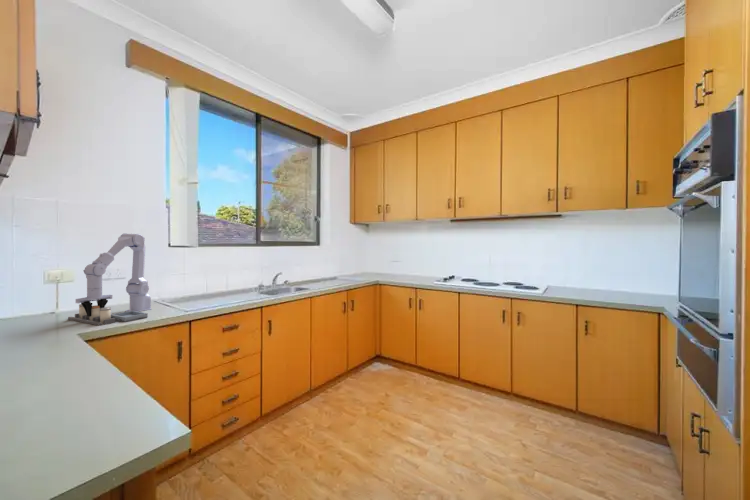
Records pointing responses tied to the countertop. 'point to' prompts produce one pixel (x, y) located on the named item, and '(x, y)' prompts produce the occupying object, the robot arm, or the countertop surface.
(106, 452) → the countertop surface
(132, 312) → the tray
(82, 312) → the cream capsule cylinder
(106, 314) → the fuse
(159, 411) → the countertop surface
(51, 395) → the countertop surface
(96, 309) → the cylinder
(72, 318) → the clip rail
